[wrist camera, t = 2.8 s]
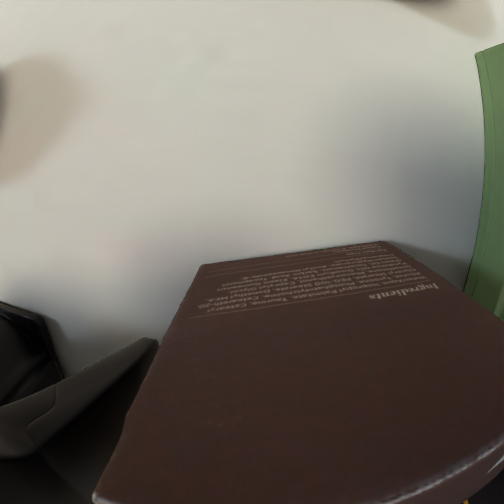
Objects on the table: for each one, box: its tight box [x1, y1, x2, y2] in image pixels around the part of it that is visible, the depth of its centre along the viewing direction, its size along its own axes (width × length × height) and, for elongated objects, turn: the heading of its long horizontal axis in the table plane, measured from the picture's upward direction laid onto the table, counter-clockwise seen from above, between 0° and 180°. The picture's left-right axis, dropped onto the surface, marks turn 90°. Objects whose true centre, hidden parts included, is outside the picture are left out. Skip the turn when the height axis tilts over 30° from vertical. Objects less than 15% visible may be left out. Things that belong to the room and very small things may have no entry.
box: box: [92, 241, 504, 504], centre depth 5 cm, size 6×6×7 cm
